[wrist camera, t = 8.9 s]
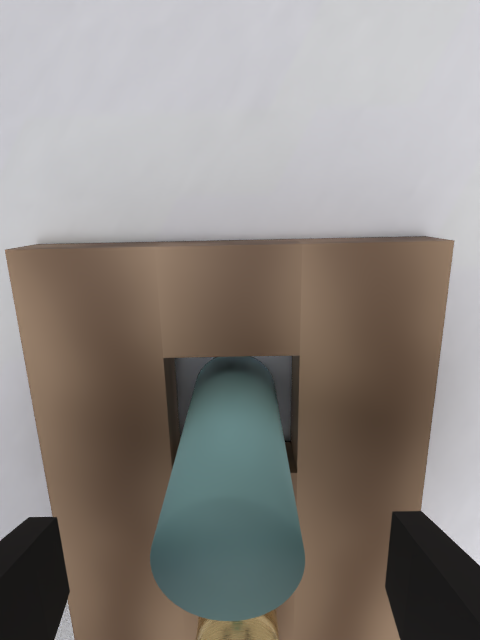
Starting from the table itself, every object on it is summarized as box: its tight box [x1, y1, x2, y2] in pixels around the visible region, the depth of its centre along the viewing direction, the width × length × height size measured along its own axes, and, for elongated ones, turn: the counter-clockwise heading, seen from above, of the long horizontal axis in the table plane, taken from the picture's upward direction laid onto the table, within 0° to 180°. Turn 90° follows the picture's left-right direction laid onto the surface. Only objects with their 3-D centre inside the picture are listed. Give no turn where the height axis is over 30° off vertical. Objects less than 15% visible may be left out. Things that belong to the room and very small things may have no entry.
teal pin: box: [150, 356, 305, 621], centre depth 12 cm, size 3×3×8 cm
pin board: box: [5, 236, 454, 640], centre depth 14 cm, size 14×18×5 cm
